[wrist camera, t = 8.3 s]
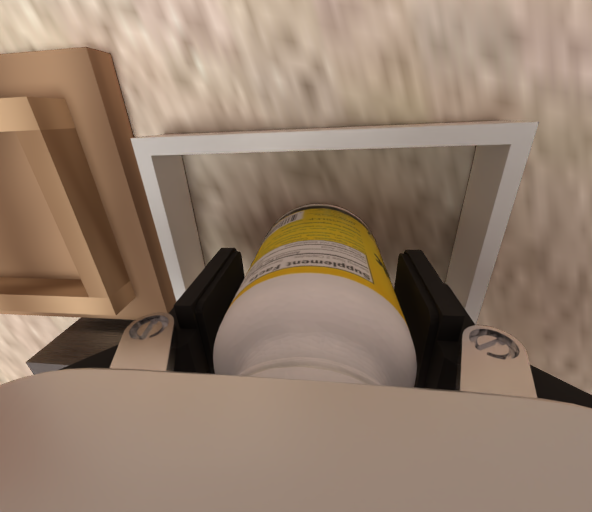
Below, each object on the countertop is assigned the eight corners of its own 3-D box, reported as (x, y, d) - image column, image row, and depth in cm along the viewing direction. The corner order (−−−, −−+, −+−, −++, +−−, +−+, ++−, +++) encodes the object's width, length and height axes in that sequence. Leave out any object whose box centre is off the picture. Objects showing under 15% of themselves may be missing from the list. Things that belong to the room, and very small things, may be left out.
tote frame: (500, 120, 10) (539, 121, 8) (441, 348, 15) (457, 382, 13) (163, 134, 12) (130, 138, 10) (210, 336, 17) (194, 365, 15)
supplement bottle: (364, 307, 15) (410, 586, 6) (262, 292, 15) (167, 536, 6) (390, 208, 12) (535, 439, 4) (268, 192, 13) (123, 369, 4)
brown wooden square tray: (110, 53, 11) (46, 35, 8) (180, 307, 16) (154, 341, 14) (-141, 74, 12) (-257, 63, 10) (0, 300, 18) (-53, 330, 15)
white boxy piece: (182, 314, 16) (141, 370, 13) (202, 385, 19) (172, 447, 15) (89, 310, 17) (25, 362, 13) (121, 379, 20) (74, 437, 16)
